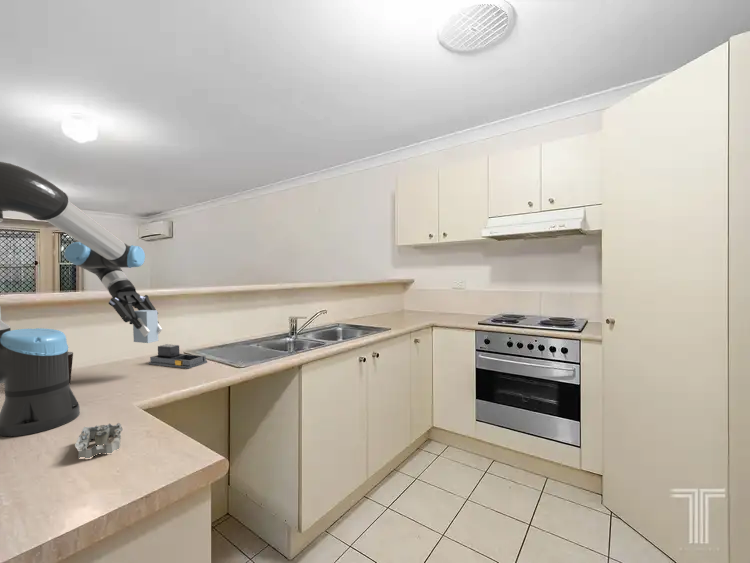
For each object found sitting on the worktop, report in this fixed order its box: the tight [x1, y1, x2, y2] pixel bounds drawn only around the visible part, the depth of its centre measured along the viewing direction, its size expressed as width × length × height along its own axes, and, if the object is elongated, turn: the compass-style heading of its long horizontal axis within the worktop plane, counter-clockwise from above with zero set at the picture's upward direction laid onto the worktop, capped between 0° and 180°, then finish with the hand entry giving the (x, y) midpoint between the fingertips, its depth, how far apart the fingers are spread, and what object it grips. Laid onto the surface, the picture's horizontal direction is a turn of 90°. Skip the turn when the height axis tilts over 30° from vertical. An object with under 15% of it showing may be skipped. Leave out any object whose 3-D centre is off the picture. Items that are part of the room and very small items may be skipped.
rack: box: [148, 343, 208, 370], centre depth 140 cm, size 9×21×7 cm, turn 70°
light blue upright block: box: [132, 309, 159, 344], centre depth 124 cm, size 4×7×11 cm, turn 70°
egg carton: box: [74, 422, 123, 459], centre depth 75 cm, size 11×8×4 cm
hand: (153, 332), depth 123 cm, fingers closed on light blue upright block, 4 cm apart
